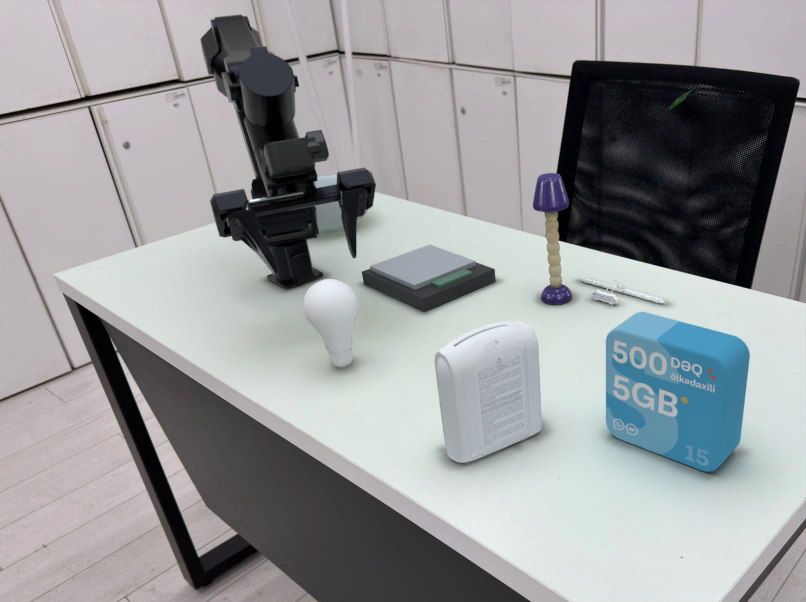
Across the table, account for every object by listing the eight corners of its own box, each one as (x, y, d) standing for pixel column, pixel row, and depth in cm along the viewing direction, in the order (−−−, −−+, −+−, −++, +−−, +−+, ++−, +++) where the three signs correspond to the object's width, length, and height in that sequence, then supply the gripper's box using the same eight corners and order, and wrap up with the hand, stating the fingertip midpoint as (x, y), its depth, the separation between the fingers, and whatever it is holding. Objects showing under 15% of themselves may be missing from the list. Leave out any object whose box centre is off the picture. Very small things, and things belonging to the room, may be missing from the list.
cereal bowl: (289, 250, 125) (280, 209, 121) (273, 223, 138) (264, 185, 134) (387, 230, 130) (381, 190, 126) (362, 206, 143) (356, 169, 140)
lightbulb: (325, 384, 85) (305, 297, 80) (312, 363, 90) (292, 278, 84) (376, 369, 88) (359, 283, 82) (360, 349, 92) (344, 266, 87)
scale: (363, 284, 110) (360, 266, 109) (432, 257, 117) (430, 240, 116) (424, 312, 100) (421, 293, 99) (496, 281, 108) (494, 263, 106)
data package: (604, 434, 73) (604, 325, 67) (629, 413, 76) (631, 307, 70) (717, 478, 66) (729, 361, 60) (739, 453, 69) (752, 339, 63)
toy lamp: (532, 301, 101) (524, 179, 92) (546, 288, 104) (540, 169, 96) (564, 306, 99) (560, 182, 90) (578, 293, 102) (575, 171, 94)
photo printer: (525, 413, 78) (518, 305, 71) (549, 431, 74) (544, 320, 68) (438, 449, 73) (422, 338, 67) (460, 471, 70) (445, 355, 63)
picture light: (666, 303, 98) (667, 288, 97) (647, 315, 95) (648, 300, 94) (581, 280, 106) (581, 266, 105) (562, 290, 103) (561, 276, 102)
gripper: (187, 121, 79) (226, 250, 76) (357, 96, 86) (400, 214, 82) (201, 178, 90) (236, 294, 87) (352, 152, 96) (390, 259, 93)
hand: (316, 265), depth 87 cm, fingers open, 9 cm apart
